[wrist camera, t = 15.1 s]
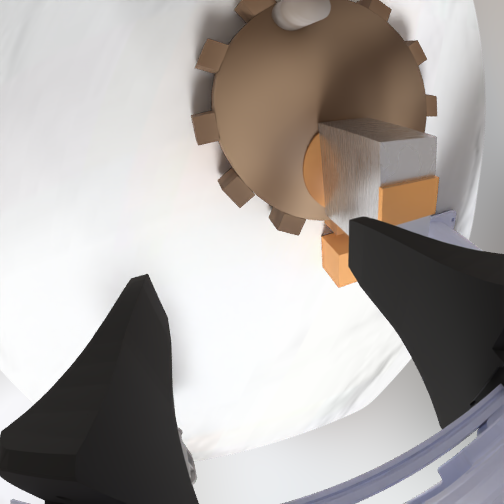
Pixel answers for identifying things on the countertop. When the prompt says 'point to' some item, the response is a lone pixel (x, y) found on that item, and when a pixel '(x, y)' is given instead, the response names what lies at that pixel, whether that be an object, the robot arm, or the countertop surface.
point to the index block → (337, 258)
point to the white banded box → (378, 173)
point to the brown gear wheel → (303, 96)
